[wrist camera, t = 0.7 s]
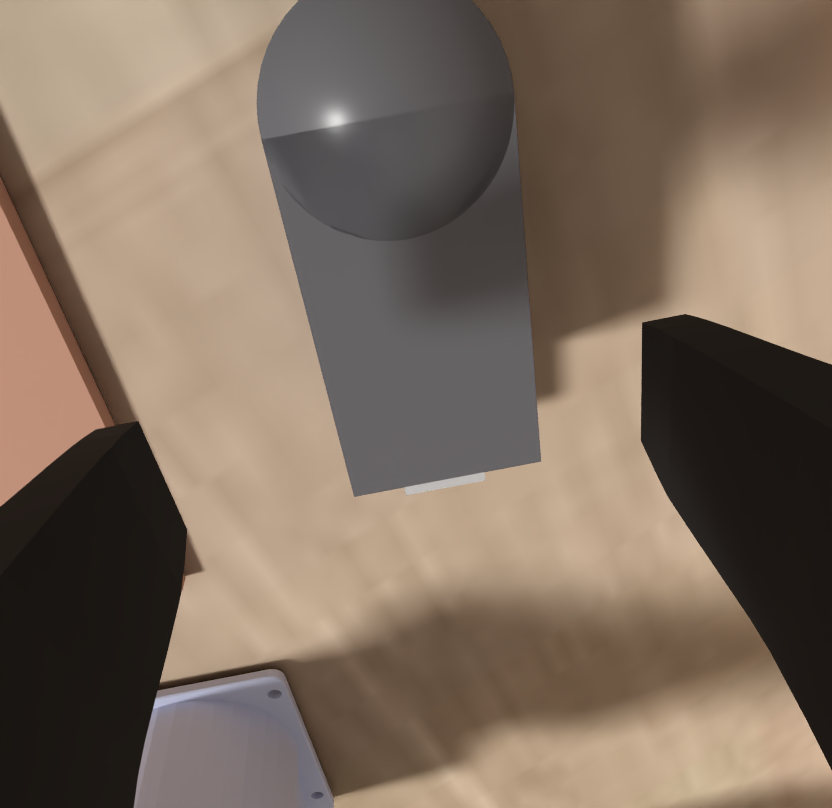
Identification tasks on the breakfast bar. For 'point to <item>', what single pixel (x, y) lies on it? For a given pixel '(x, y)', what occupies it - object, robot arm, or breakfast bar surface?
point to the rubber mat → (37, 366)
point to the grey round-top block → (406, 233)
